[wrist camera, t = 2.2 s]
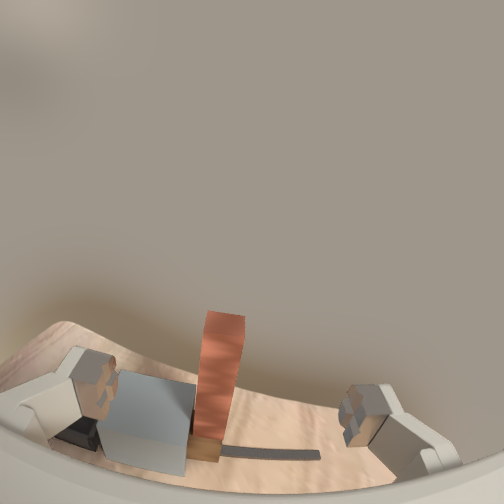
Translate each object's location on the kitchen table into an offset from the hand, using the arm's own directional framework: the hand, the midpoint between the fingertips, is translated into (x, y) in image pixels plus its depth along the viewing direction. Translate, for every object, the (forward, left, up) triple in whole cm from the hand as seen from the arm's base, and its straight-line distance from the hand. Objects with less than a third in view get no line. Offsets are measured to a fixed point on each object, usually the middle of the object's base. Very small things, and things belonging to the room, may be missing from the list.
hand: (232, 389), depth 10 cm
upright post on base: (-4, +14, -24) cm, 28 cm away
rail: (+1, +14, -25) cm, 29 cm away
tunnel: (-7, +14, -25) cm, 30 cm away
